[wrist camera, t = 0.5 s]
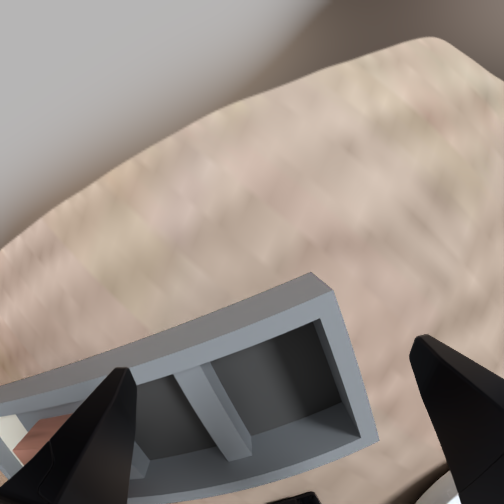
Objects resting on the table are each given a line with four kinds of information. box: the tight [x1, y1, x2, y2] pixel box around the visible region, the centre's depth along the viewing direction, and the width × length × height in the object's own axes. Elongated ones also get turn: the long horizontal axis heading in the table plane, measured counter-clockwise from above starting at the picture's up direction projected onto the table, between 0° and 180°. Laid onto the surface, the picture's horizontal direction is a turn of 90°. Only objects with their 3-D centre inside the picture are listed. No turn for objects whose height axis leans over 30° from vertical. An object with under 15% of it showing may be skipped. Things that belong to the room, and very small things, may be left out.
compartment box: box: [0, 272, 380, 504], centre depth 20 cm, size 12×36×6 cm, turn 112°
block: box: [12, 413, 73, 465], centre depth 18 cm, size 6×6×5 cm
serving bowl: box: [415, 471, 461, 504], centre depth 23 cm, size 21×21×7 cm
